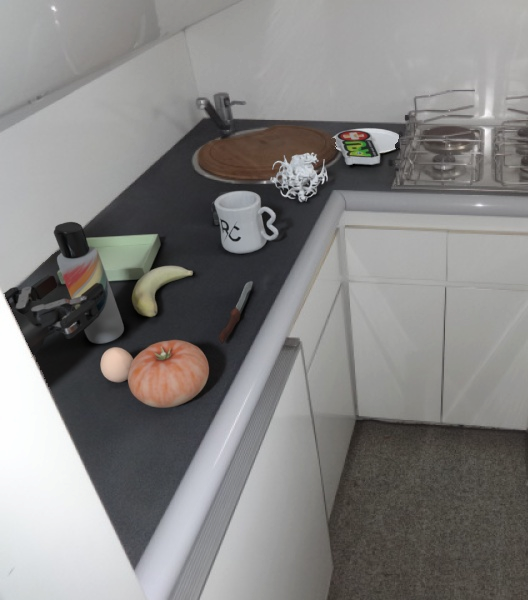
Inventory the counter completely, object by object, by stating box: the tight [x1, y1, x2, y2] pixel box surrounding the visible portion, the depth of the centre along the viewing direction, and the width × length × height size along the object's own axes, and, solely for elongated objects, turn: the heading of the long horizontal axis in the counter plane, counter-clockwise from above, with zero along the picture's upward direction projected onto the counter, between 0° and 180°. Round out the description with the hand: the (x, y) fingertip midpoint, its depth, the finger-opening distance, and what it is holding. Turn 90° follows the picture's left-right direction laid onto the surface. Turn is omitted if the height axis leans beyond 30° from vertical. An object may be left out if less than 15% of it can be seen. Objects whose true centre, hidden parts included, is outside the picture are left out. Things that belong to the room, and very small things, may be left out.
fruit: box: [131, 265, 194, 318], centre depth 104 cm, size 7×15×3 cm, turn 172°
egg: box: [100, 346, 134, 383], centre depth 85 cm, size 4×4×6 cm
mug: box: [213, 190, 279, 255], centre depth 117 cm, size 12×9×10 cm
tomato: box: [127, 339, 210, 409], centre depth 82 cm, size 11×11×8 cm
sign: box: [335, 129, 381, 166], centre depth 158 cm, size 22×2×10 cm
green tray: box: [56, 233, 162, 285], centre depth 114 cm, size 15×13×2 cm
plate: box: [332, 127, 400, 155], centre depth 167 cm, size 21×21×1 cm
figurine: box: [270, 152, 329, 203], centre depth 137 cm, size 13×15×12 cm
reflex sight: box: [210, 191, 230, 225], centre depth 130 cm, size 4×10×5 cm, turn 9°
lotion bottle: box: [53, 221, 125, 345], centre depth 90 cm, size 6×6×20 cm
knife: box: [218, 280, 254, 344], centre depth 99 cm, size 18×2×3 cm, turn 177°
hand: (77, 284), depth 88 cm, fingers open, 8 cm apart
